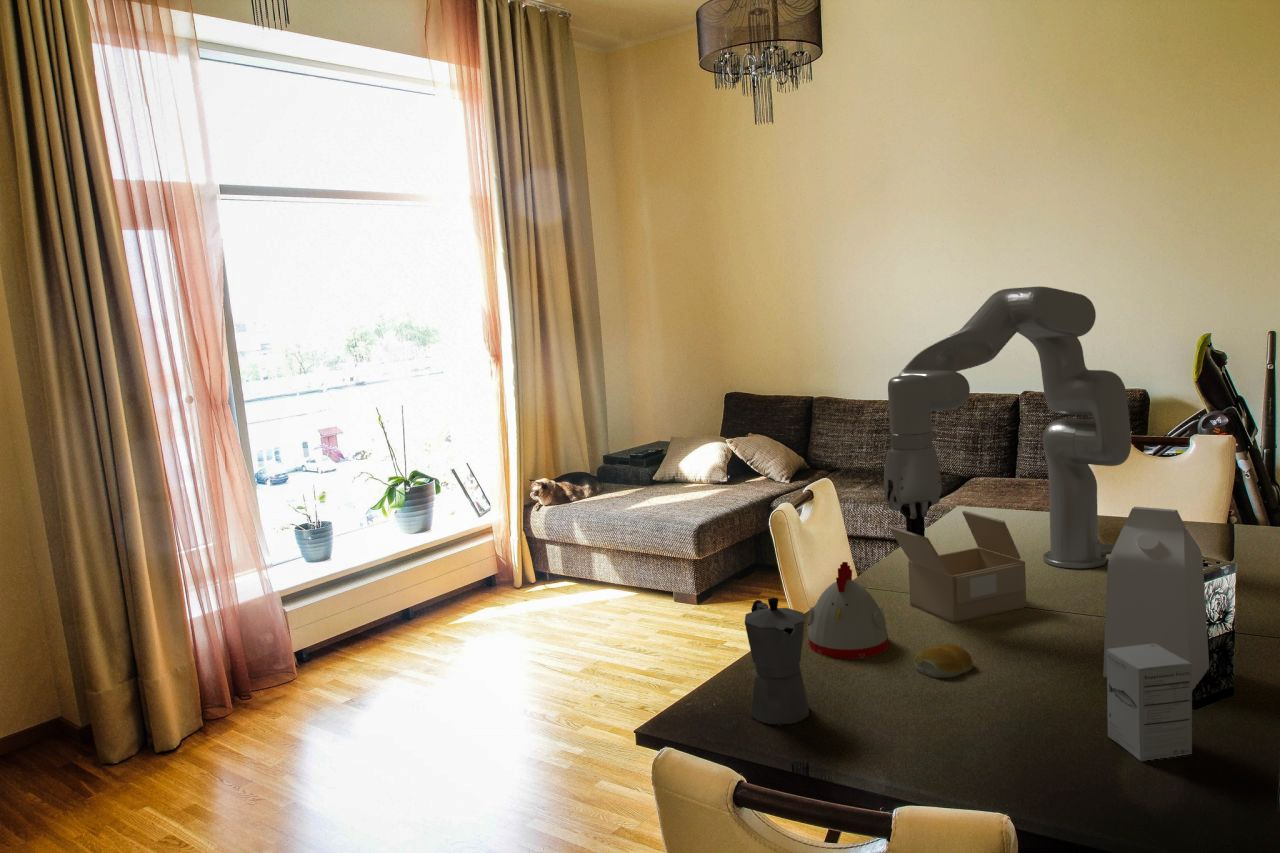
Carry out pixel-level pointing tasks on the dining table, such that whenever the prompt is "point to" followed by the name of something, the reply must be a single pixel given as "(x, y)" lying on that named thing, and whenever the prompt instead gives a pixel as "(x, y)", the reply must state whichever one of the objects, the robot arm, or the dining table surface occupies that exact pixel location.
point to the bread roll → (943, 661)
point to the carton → (969, 585)
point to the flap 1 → (919, 549)
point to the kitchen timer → (847, 620)
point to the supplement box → (1149, 701)
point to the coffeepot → (776, 663)
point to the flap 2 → (991, 534)
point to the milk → (1157, 589)
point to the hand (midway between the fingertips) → (915, 537)
